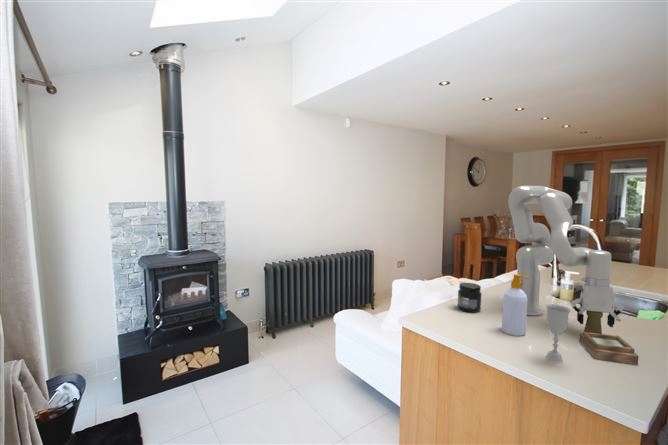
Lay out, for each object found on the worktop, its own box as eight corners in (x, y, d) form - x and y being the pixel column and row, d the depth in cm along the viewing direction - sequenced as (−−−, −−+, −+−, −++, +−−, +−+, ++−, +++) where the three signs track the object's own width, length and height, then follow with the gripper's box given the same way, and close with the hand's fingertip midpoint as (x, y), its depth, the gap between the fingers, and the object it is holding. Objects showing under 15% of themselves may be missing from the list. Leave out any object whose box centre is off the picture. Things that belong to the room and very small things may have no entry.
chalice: (537, 354, 116) (540, 304, 115) (555, 353, 117) (559, 303, 115) (553, 364, 109) (556, 311, 107) (572, 364, 110) (576, 311, 108)
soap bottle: (518, 338, 129) (522, 278, 126) (496, 329, 137) (499, 273, 135) (532, 334, 133) (535, 276, 130) (510, 325, 141) (513, 271, 139)
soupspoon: (623, 311, 163) (606, 309, 167) (623, 304, 163) (606, 302, 167) (627, 323, 146) (608, 320, 150) (627, 315, 145) (608, 313, 149)
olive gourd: (605, 339, 128) (608, 312, 127) (588, 338, 130) (590, 310, 129) (596, 333, 134) (599, 306, 133) (580, 331, 135) (582, 305, 134)
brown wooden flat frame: (594, 358, 113) (595, 345, 113) (579, 341, 127) (580, 330, 126) (637, 364, 110) (638, 351, 109) (617, 346, 123) (618, 334, 122)
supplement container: (476, 306, 165) (477, 282, 164) (483, 313, 155) (485, 288, 154) (454, 305, 166) (455, 281, 165) (460, 312, 156) (461, 288, 155)
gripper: (574, 282, 129) (572, 325, 130) (629, 286, 123) (627, 331, 125) (568, 278, 136) (566, 318, 137) (619, 281, 130) (617, 323, 132)
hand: (595, 324), depth 131 cm, fingers open, 9 cm apart
